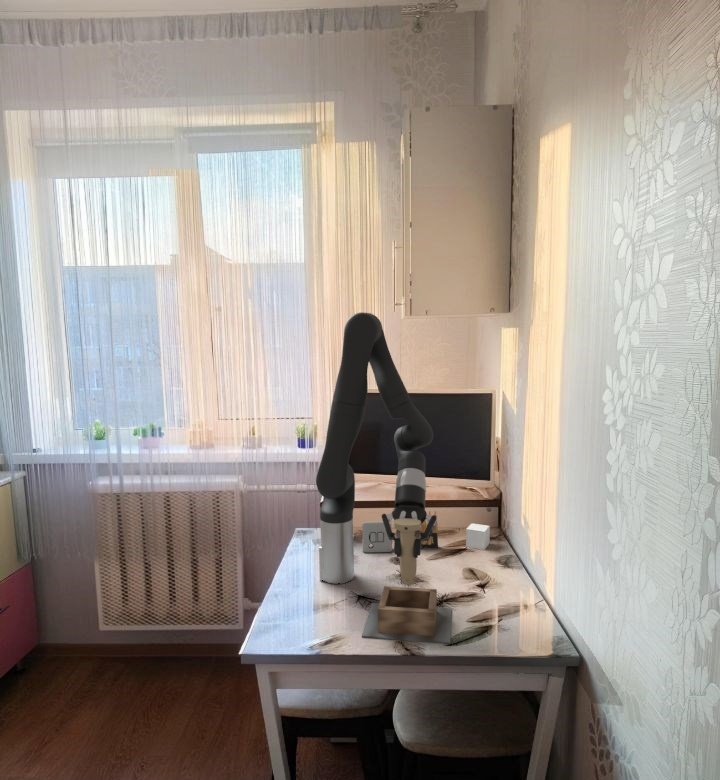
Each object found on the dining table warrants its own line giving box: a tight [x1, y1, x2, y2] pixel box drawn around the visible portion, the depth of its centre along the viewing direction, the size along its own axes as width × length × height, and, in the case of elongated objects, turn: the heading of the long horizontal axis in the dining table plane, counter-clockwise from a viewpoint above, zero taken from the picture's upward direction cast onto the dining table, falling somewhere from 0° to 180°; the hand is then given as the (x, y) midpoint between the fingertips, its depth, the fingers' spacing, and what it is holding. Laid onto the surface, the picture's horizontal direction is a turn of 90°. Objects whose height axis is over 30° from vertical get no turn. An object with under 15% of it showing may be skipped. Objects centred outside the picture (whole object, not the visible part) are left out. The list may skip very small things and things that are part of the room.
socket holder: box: [361, 585, 452, 645], centre depth 139 cm, size 20×16×6 cm
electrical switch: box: [361, 521, 393, 553], centre depth 186 cm, size 9×5×9 cm, turn 90°
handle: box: [393, 518, 421, 586], centre depth 138 cm, size 5×6×15 cm
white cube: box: [465, 523, 491, 551], centre depth 188 cm, size 6×6×6 cm
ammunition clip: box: [415, 510, 439, 549], centre depth 187 cm, size 11×2×12 cm, turn 85°
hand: (407, 555), depth 136 cm, fingers closed on handle, 3 cm apart
